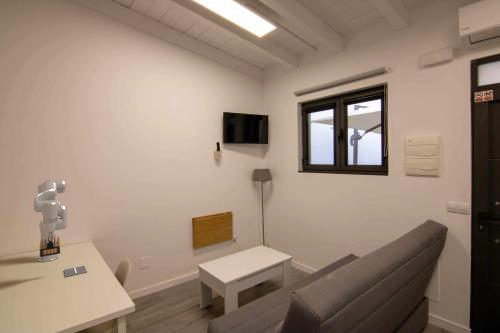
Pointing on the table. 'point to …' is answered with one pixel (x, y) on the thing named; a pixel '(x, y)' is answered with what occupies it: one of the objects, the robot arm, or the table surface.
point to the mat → (75, 271)
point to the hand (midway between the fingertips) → (50, 248)
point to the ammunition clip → (47, 252)
